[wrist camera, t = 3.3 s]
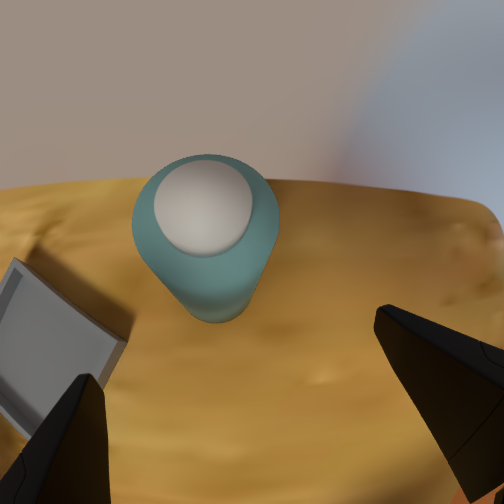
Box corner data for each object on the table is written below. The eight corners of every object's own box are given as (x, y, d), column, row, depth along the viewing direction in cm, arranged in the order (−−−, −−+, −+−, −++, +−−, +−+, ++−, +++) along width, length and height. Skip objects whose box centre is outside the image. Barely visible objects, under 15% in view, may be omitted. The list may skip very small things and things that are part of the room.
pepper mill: (231, 336, 19) (236, 314, 8) (165, 300, 20) (93, 231, 8) (265, 272, 21) (309, 175, 9) (201, 239, 21) (180, 119, 10)
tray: (70, 459, 15) (58, 466, 13) (-19, 371, 16) (-34, 370, 14) (127, 342, 18) (117, 340, 16) (27, 264, 19) (14, 256, 17)
